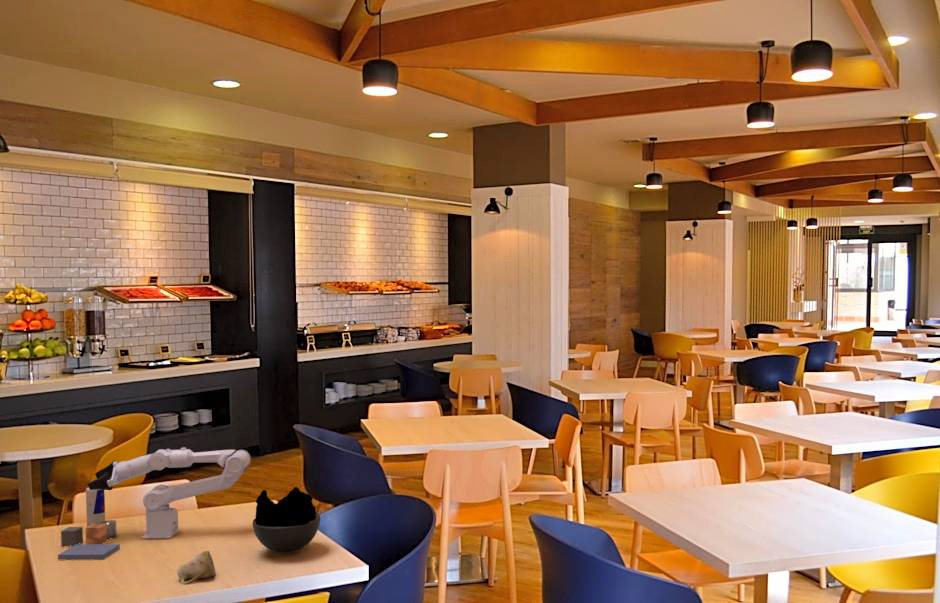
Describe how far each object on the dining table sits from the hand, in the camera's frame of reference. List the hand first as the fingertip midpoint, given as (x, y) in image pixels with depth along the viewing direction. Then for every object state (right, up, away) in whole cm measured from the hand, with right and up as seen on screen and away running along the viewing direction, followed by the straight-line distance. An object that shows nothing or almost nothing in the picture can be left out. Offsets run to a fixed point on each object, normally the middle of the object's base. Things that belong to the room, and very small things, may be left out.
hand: (92, 481), depth 266 cm
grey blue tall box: (-2, -19, +7) cm, 20 cm away
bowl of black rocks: (+68, -17, -19) cm, 72 cm away
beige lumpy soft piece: (+47, -18, -41) cm, 65 cm away
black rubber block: (-4, -19, -6) cm, 20 cm away
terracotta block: (+4, -19, -7) cm, 20 cm away
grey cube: (+5, -18, 0) cm, 19 cm away
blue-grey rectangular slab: (+7, -19, -17) cm, 26 cm away
